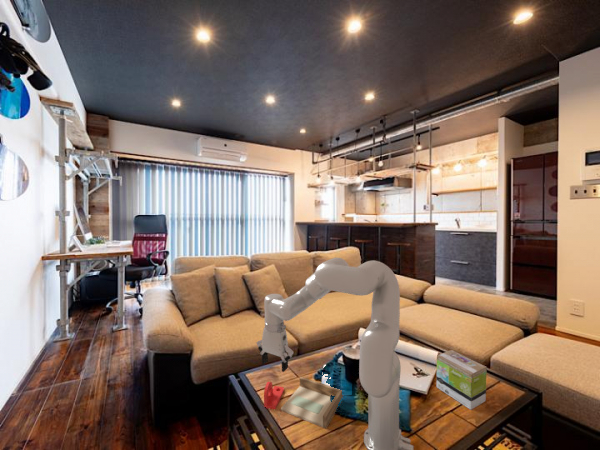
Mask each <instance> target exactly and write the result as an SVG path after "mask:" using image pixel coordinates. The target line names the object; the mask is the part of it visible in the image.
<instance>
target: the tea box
mask: <svg viewBox="0 0 600 450" xmlns="http://www.w3.org/2000/svg"><path fill="white" fill-rule="evenodd" d="M487 368H488V367H487V366H485V365H484V364H482V363H480V362H477V361H475V360H474V359H471V358H469V357H468V356H465V355H463V354H461V353H458V352H457V351H455V350H453V349H450V350H448V351H445V352H443V353H440V354H438V355H437V356H436V388H437V389H439V391H442V392H443V393H445V394H446V395H447V396H449V397H451V398H453V400H455V401H456V402H458V403H460V404H461V405H463V406H464V407H465V408H467V409H468V410H470V411H471V410H474V409H475V408H476V407H478V406H480V405H481V404H483V403H485V402H486V397H487V396H486V395H487V374H488V373H487Z"/></svg>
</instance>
